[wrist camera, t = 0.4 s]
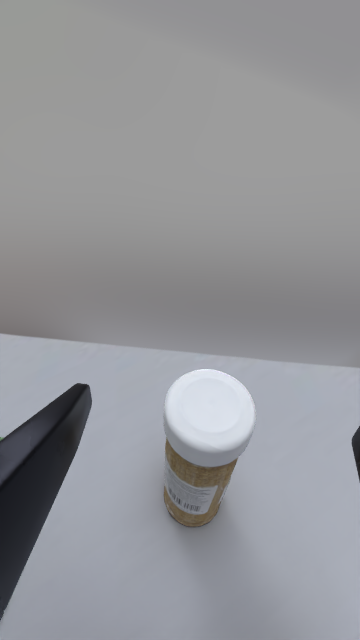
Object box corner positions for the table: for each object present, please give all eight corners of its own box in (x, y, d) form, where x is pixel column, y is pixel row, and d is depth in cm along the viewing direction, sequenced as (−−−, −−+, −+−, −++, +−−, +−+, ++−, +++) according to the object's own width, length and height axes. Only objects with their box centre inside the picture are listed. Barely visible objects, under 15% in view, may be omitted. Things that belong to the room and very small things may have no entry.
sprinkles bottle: (231, 496, 23) (277, 407, 14) (190, 544, 21) (213, 474, 12) (191, 453, 26) (209, 352, 17) (150, 491, 23) (144, 398, 14)
